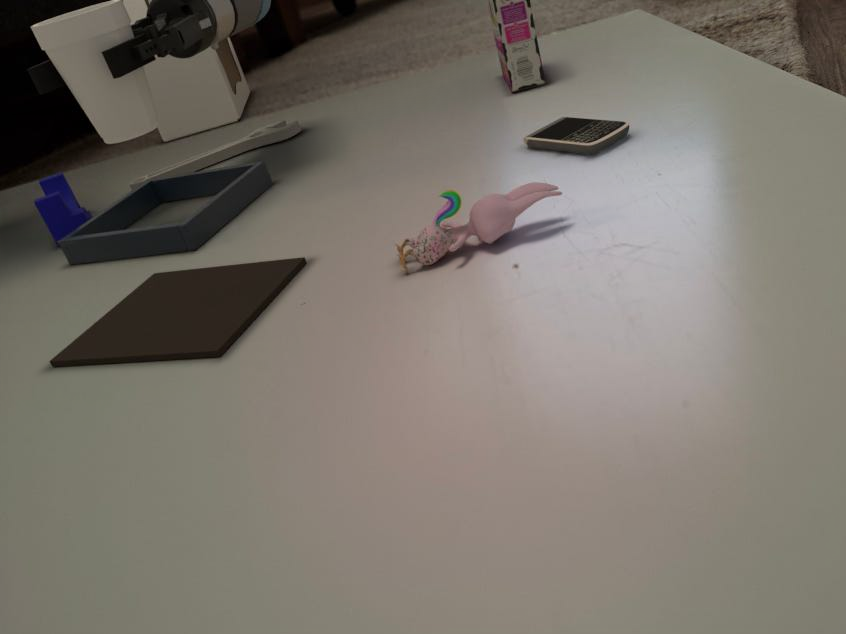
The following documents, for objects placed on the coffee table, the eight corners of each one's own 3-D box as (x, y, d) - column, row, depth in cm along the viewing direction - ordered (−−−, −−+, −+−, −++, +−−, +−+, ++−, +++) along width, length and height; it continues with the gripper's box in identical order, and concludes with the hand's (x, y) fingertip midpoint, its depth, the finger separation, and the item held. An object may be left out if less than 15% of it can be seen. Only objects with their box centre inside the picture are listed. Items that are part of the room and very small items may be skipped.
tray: (69, 265, 97) (56, 241, 96) (158, 200, 111) (148, 179, 110) (195, 250, 91) (184, 225, 89) (273, 183, 105) (264, 160, 103)
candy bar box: (548, 84, 112) (522, -48, 104) (512, 94, 113) (483, -37, 104) (535, 67, 122) (510, -55, 114) (502, 76, 122) (474, -45, 114)
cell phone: (595, 158, 85) (593, 144, 84) (521, 149, 93) (518, 136, 92) (635, 134, 87) (633, 121, 87) (560, 128, 95) (557, 115, 95)
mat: (52, 366, 74) (48, 361, 74) (156, 278, 86) (154, 273, 86) (220, 356, 68) (217, 350, 67) (306, 262, 80) (304, 256, 80)
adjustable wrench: (134, 196, 117) (128, 184, 116) (132, 186, 122) (126, 174, 121) (303, 134, 122) (298, 122, 121) (294, 126, 127) (289, 115, 127)
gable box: (239, 121, 140) (167, -61, 126) (163, 143, 140) (82, -36, 126) (250, 92, 159) (189, -69, 145) (183, 111, 159) (115, -47, 145)
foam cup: (121, 126, 99) (67, 11, 93) (188, 112, 97) (137, -7, 90) (74, 155, 92) (12, 33, 85) (145, 140, 89) (86, 13, 82)
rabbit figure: (413, 295, 71) (575, 219, 70) (382, 235, 68) (550, 155, 67) (408, 266, 77) (558, 195, 76) (378, 209, 74) (534, 135, 73)
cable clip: (94, 234, 105) (71, 189, 102) (58, 247, 104) (33, 202, 101) (94, 209, 115) (73, 168, 112) (61, 221, 114) (39, 180, 111)
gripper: (276, 34, 102) (174, 92, 85) (133, 65, 110) (12, 124, 93) (253, -32, 98) (140, 14, 81) (106, 5, 106) (-25, 55, 89)
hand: (72, 73), depth 87 cm, fingers closed on foam cup, 9 cm apart
